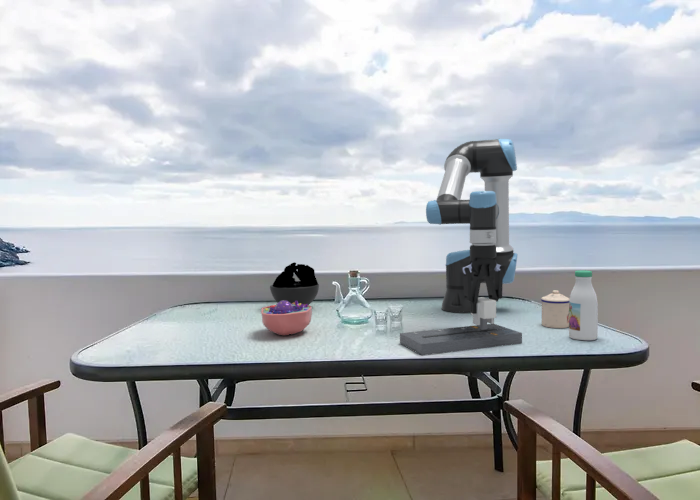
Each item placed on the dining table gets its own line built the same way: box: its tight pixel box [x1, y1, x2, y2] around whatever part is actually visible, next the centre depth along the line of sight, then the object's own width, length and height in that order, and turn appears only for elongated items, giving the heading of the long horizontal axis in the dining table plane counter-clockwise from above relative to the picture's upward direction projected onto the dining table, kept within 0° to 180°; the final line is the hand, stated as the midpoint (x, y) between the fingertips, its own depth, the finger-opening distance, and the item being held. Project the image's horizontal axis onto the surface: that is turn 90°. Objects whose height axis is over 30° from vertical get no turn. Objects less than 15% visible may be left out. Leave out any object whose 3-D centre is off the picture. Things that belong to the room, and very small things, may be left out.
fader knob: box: [470, 296, 497, 330], centre depth 149 cm, size 7×4×9 cm, turn 19°
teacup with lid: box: [540, 289, 570, 329], centre depth 169 cm, size 12×9×12 cm
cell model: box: [260, 301, 313, 336], centre depth 165 cm, size 17×20×11 cm
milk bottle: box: [568, 269, 599, 341], centre depth 150 cm, size 8×8×20 cm
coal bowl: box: [269, 262, 320, 306], centre depth 209 cm, size 20×20×19 cm
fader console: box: [399, 323, 523, 356], centre depth 147 cm, size 14×32×3 cm, turn 109°
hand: (483, 323), depth 150 cm, fingers closed on fader knob, 4 cm apart
